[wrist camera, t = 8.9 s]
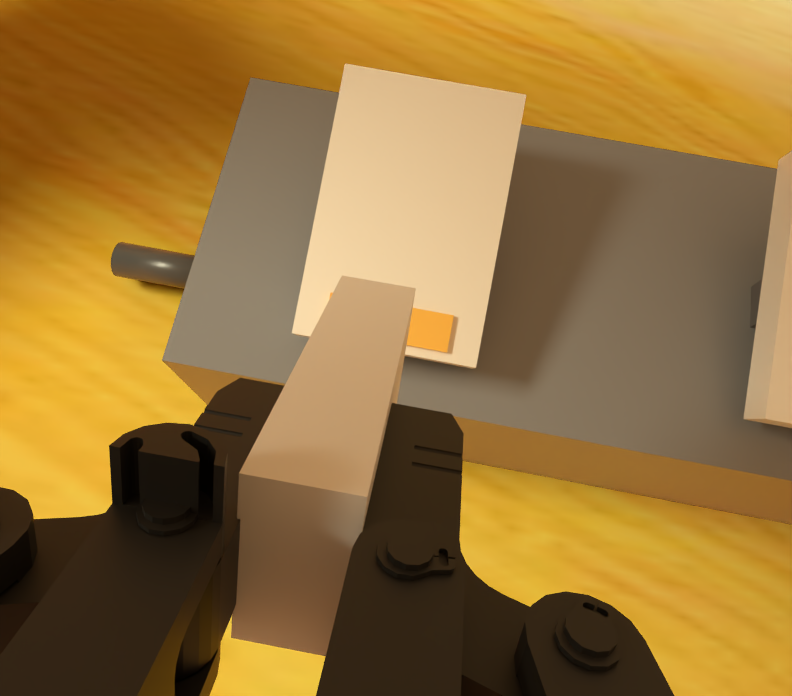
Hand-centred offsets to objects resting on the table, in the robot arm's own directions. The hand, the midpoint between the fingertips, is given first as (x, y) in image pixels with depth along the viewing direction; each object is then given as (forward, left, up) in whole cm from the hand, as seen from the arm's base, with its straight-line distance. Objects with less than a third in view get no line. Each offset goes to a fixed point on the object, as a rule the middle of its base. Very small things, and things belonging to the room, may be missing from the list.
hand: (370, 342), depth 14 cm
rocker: (+4, +6, -8) cm, 11 cm away
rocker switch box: (+8, +3, -17) cm, 19 cm away
